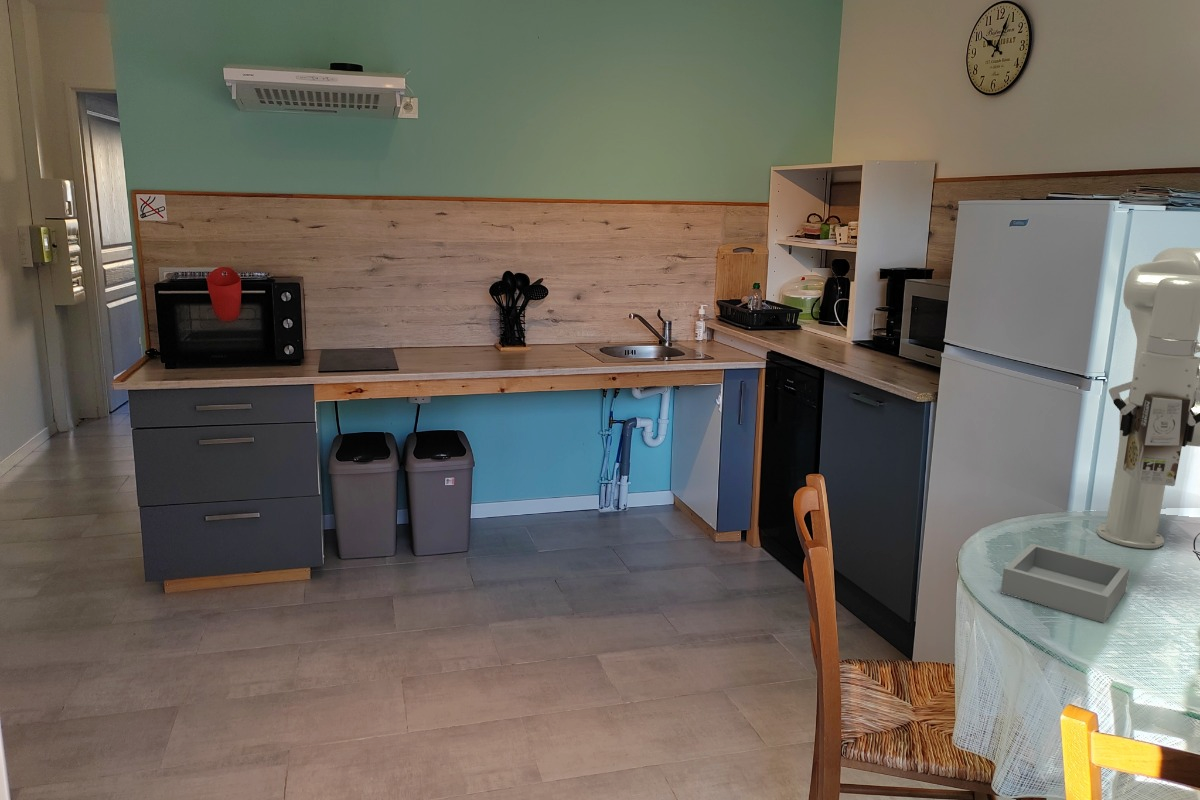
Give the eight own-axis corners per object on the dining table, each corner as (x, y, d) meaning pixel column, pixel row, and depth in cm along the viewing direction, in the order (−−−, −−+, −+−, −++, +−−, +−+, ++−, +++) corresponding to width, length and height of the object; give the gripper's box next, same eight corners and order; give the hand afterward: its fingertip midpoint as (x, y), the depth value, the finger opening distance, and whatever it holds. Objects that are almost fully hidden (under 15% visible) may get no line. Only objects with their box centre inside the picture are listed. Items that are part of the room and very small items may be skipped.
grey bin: (1028, 566, 178) (1031, 543, 177) (1125, 592, 168) (1129, 568, 166) (1000, 592, 166) (1003, 568, 164) (1103, 623, 155) (1108, 596, 154)
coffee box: (1176, 486, 163) (1192, 399, 160) (1137, 483, 165) (1151, 396, 161) (1158, 472, 172) (1173, 389, 168) (1121, 468, 173) (1134, 386, 170)
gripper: (1231, 351, 160) (1213, 445, 164) (1121, 339, 171) (1106, 427, 175) (1225, 356, 154) (1206, 453, 158) (1111, 343, 165) (1097, 434, 169)
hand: (1154, 439), depth 167 cm, fingers closed on coffee box, 8 cm apart
